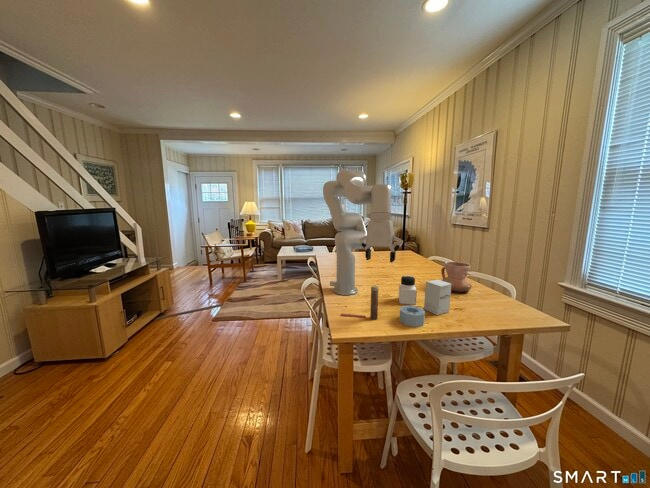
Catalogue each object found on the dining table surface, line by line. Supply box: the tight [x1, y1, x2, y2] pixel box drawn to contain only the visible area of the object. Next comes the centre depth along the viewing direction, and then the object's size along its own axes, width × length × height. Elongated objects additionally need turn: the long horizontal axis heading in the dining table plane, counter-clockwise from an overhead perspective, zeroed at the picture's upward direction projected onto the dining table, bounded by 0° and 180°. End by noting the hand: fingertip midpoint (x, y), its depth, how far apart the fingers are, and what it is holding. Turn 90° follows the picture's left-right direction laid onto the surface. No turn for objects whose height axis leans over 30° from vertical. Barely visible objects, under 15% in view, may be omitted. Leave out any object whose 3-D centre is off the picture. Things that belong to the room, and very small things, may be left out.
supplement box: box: [423, 279, 452, 316], centre depth 108 cm, size 7×7×13 cm
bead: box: [399, 304, 426, 328], centre depth 98 cm, size 9×9×5 cm
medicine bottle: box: [398, 275, 418, 306], centre depth 118 cm, size 7×7×12 cm
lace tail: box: [340, 313, 367, 318], centre depth 103 cm, size 10×1×1 cm, turn 78°
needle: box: [369, 285, 379, 321], centre depth 100 cm, size 3×3×13 cm
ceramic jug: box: [441, 261, 473, 293], centre depth 134 cm, size 18×14×14 cm
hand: (380, 260), depth 100 cm, fingers open, 9 cm apart
